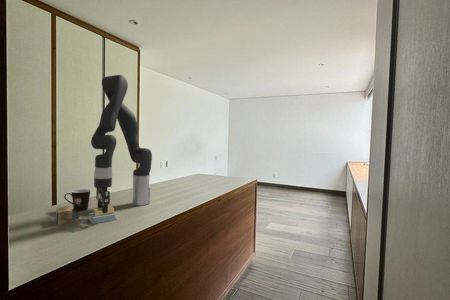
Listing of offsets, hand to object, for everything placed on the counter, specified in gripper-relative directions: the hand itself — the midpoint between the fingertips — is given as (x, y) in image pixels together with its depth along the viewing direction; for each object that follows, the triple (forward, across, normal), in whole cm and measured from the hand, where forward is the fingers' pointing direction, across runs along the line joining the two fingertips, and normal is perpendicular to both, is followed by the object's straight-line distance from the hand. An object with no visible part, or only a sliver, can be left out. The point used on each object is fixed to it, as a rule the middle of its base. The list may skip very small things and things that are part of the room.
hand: (102, 210), depth 114 cm
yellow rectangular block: (+3, 0, -1) cm, 3 cm away
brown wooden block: (+4, +6, +14) cm, 16 cm away
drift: (+4, +6, +13) cm, 15 cm away
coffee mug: (+4, +23, +6) cm, 24 cm away
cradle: (+4, 0, 0) cm, 4 cm away
